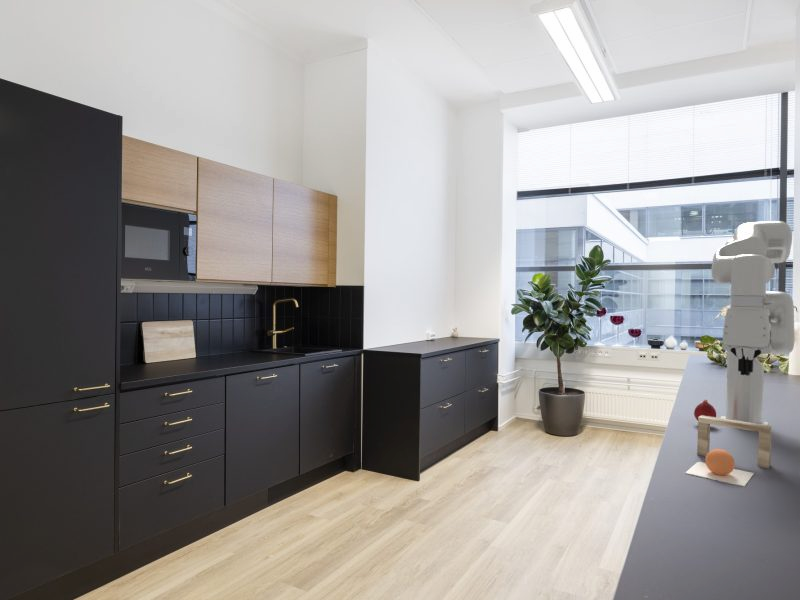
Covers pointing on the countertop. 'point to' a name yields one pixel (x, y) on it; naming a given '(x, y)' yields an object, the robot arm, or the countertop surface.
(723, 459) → the ball
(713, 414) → the onion
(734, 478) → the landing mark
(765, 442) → the bridge
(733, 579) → the countertop surface
